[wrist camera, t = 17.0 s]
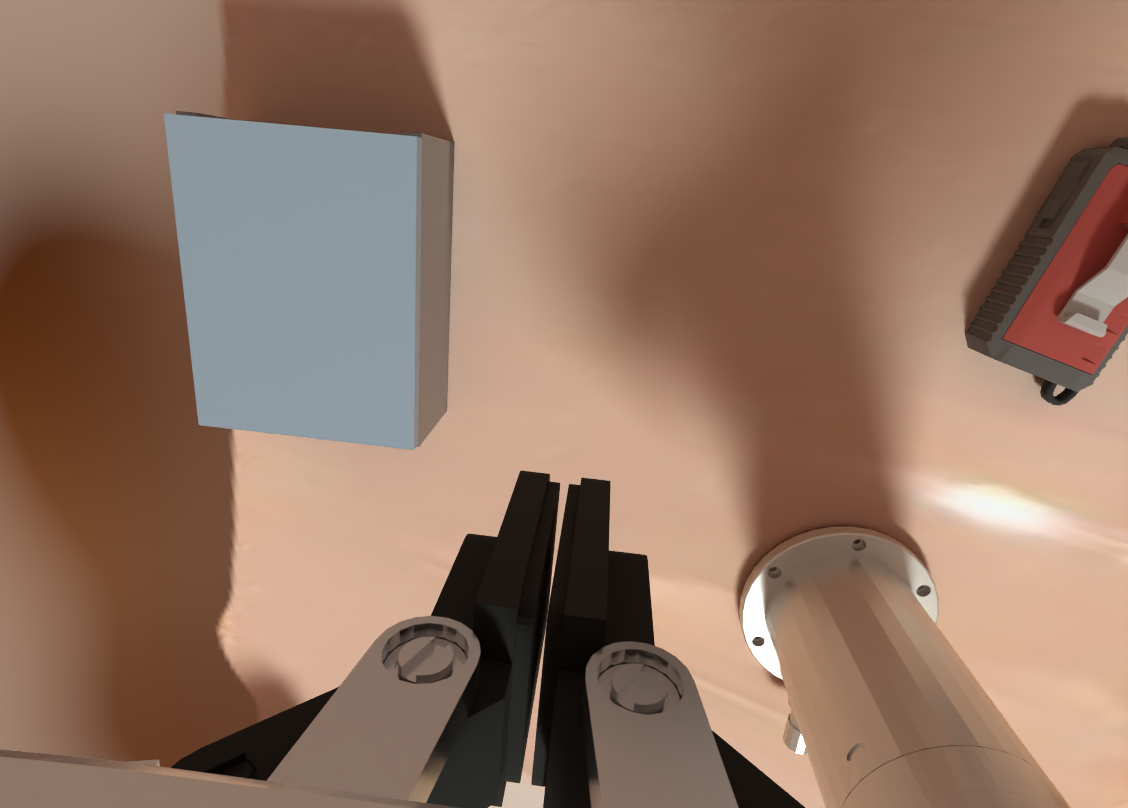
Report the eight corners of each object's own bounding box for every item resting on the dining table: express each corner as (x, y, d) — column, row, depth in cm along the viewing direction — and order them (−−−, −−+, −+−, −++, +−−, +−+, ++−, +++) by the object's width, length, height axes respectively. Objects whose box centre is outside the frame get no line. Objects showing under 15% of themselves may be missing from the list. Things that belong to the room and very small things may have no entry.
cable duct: (446, 410, 40) (418, 446, 35) (265, 390, 41) (209, 422, 35) (454, 142, 35) (422, 133, 29) (246, 123, 35) (175, 110, 30)
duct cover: (418, 444, 34) (413, 449, 34) (208, 419, 35) (198, 425, 34) (422, 137, 29) (416, 136, 28) (175, 115, 30) (163, 113, 29)
